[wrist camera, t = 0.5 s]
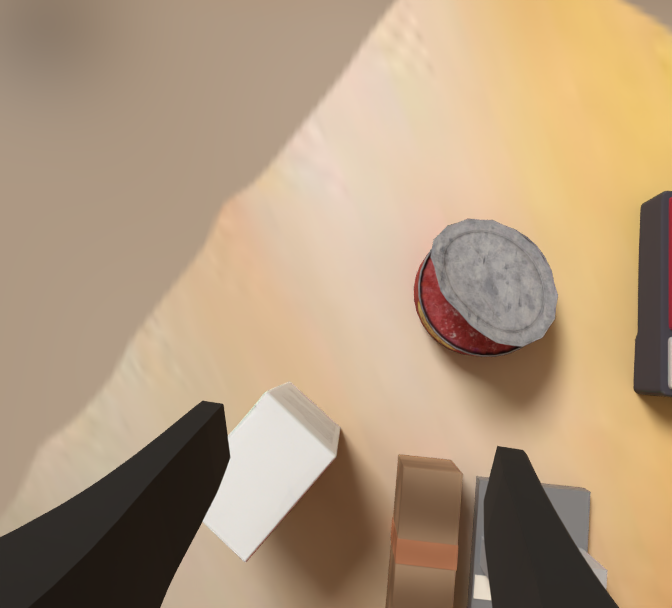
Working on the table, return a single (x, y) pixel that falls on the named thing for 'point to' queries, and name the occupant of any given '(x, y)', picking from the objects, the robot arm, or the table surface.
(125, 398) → the table surface
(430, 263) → the canned food
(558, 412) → the table surface
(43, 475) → the table surface
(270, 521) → the small box
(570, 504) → the base plate
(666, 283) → the black and red box
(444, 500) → the banded tan post
